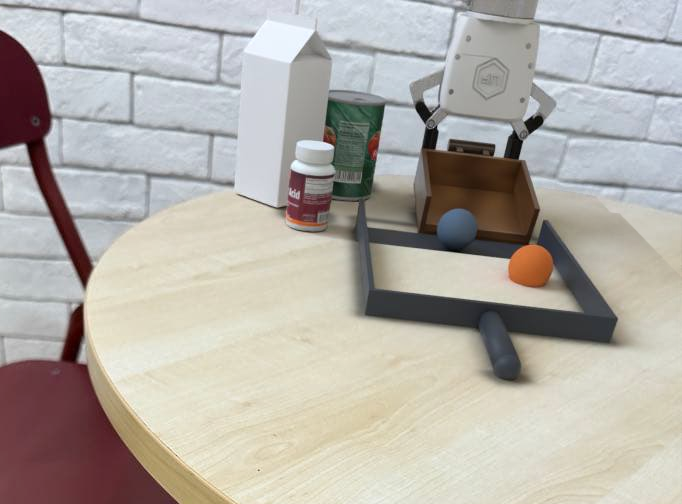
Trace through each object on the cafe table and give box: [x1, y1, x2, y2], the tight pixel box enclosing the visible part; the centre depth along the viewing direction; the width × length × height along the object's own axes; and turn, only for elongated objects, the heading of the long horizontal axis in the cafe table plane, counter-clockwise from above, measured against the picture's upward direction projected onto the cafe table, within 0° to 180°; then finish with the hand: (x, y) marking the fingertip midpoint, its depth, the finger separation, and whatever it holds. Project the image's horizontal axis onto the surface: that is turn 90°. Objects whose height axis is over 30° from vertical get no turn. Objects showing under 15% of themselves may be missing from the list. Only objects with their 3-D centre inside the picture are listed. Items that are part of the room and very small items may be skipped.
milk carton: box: [233, 8, 333, 208], centre depth 96 cm, size 7×7×19 cm
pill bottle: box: [284, 140, 335, 233], centre depth 92 cm, size 5×5×8 cm
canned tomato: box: [323, 89, 387, 202], centre depth 104 cm, size 8×8×11 cm
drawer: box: [413, 138, 541, 246], centre depth 99 cm, size 13×16×5 cm
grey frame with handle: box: [354, 198, 619, 381], centre depth 79 cm, size 38×21×3 cm, turn 177°
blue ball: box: [437, 209, 477, 250], centre depth 90 cm, size 4×4×4 cm
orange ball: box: [507, 244, 554, 288], centre depth 82 cm, size 4×4×4 cm
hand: (466, 167), depth 104 cm, fingers open, 9 cm apart
